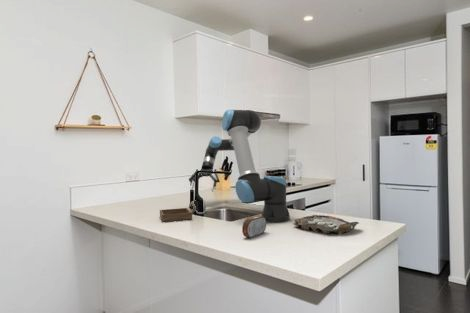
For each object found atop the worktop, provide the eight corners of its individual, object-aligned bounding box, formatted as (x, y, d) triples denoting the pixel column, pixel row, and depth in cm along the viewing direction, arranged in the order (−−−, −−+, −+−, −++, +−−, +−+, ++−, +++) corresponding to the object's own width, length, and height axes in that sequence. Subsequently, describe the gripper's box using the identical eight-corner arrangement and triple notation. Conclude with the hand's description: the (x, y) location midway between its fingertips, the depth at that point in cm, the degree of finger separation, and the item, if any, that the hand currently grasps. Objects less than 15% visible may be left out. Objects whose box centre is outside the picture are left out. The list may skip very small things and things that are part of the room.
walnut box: (192, 220, 179) (192, 212, 179) (162, 222, 174) (162, 215, 174) (187, 214, 194) (187, 207, 194) (160, 216, 189) (159, 209, 189)
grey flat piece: (283, 228, 160) (283, 217, 160) (310, 220, 174) (309, 210, 174) (339, 240, 137) (339, 227, 137) (364, 229, 152) (364, 218, 152)
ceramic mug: (189, 212, 202) (188, 199, 201) (201, 210, 206) (200, 198, 206) (196, 215, 193) (196, 202, 192) (209, 213, 197) (208, 200, 197)
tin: (262, 231, 152) (261, 213, 152) (267, 232, 150) (267, 214, 150) (241, 239, 140) (241, 219, 140) (247, 240, 138) (247, 220, 138)
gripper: (227, 168, 223) (222, 193, 208) (191, 168, 228) (184, 193, 214) (225, 160, 217) (219, 186, 203) (188, 161, 223) (181, 186, 208)
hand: (201, 190), depth 208 cm, fingers open, 13 cm apart
